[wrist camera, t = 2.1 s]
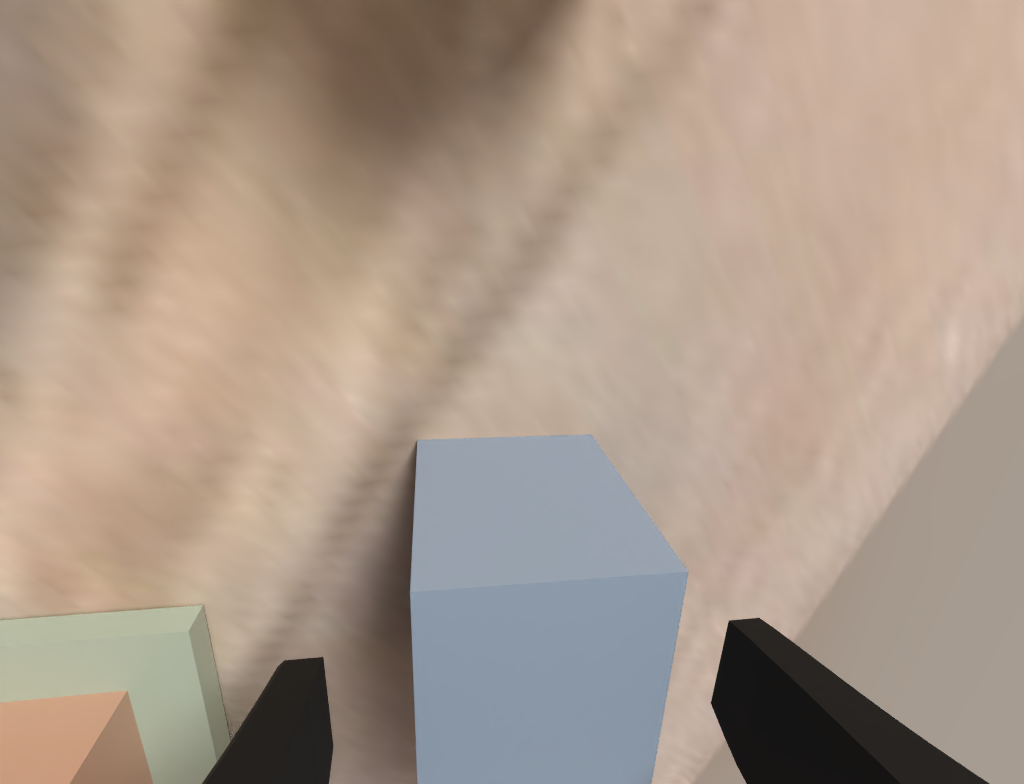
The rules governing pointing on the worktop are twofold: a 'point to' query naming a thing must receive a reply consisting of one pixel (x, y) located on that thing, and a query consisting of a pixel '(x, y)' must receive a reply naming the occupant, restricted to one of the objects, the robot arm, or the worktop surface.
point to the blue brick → (537, 615)
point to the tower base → (110, 699)
